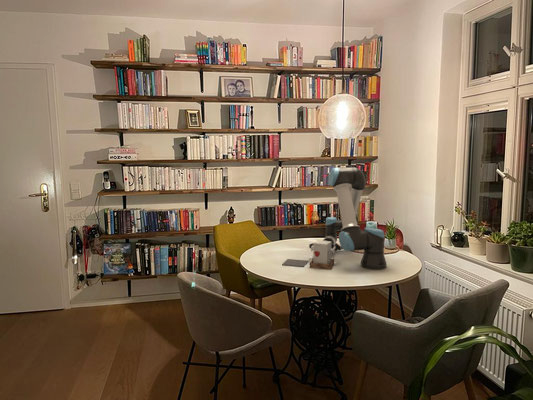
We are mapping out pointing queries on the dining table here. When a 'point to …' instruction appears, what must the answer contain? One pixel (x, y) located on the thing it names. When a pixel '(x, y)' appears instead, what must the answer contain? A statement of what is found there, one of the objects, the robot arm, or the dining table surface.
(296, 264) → the charcoal mat
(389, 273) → the dining table surface
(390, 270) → the dining table surface
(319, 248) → the supplement box
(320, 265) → the walnut holder
